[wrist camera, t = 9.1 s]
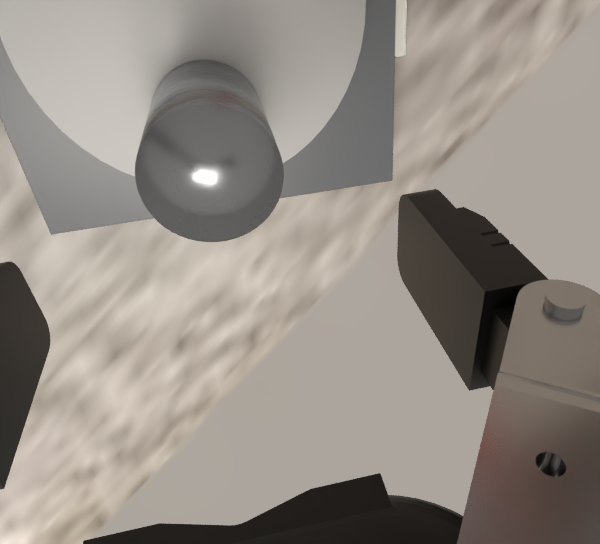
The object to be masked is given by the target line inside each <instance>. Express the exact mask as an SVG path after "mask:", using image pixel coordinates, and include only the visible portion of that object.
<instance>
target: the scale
mask: <svg viewBox="0 0 600 544" xmlns="http://www.w3.org/2000/svg"><path fill="white" fill-rule="evenodd" d="M406 17H407V0H0V118H1V120H2V123H3V125H4V127H5V130H6V132H7V134H8V137H9V139H10V141H11V143H12V146H13V148H14V150H15V153H16V155H17V157H18V160H19V162H20V164H21V166H22V169H23V171H24V173H25V176H26V178H27V180H28V182H29V185H30V187H31V189H32V192H33V194H34V196H35V199H36V201H37V203H38V205H39V208H40V210H41V212H42V215H43V217H44V219H45V222H46V224H47V226H48V228H49V231H50V233H51V234H58V233H64V232H70V231H77V230H83V229H89V228H95V227H102V226H108V225H114V224H121V223H127V222H133V221H140V220H146V219H152V218H154V217H153V216H152V215H151V214H150V213H149V211H148V210H147V208H146V207H145V205H144V203H143V202H142V200H141V198H140V195H139V192H138V190H137V185H136V180H135V162H136V157H137V153H138V149H139V146H140V142H141V138H142V135H143V131H144V127H145V124H146V120H147V116H148V113H149V109H150V105H151V101H152V98H153V95H154V92H155V90H156V88H157V86H158V84H159V83H160V81H161V80H162V79H163V77H164V76H165V75H166V74H167V73H168V72H170V71H171V70H172V69H174V68H175V67H177V66H179V65H181V64H184V63H186V62H189V61H194V60H214V61H218V62H222V63H225V64H227V65H229V66H231V67H233V68H235V69H236V70H238V71H239V72H241V73H242V74H243V75H244V76H245V77H246V78H247V79H248V80H249V81H250V83H251V84H252V85H253V87H254V88H255V90H256V92H257V94H258V96H259V99H260V101H261V104H262V107H263V109H264V112H265V115H266V117H267V120H268V123H269V125H270V128H271V131H272V133H273V136H274V138H275V141H276V144H277V146H278V149H279V152H280V155H281V158H282V162H283V168H284V181H283V188H282V192H281V195H280V198H285V197H291V196H297V195H304V194H310V193H316V192H323V191H329V190H335V189H341V188H348V187H354V186H360V185H367V184H373V183H379V182H386V181H392V172H393V122H394V73H395V57H399V56H405V49H406Z"/></svg>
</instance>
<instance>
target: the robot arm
mask: <svg viewBox="0 0 600 544" xmlns="http://www.w3.org/2000/svg"><path fill="white" fill-rule="evenodd" d="M397 254H398V255H397V258H398V266H399V271H400V275H401V277H402V280H403V282H404V284H405V285H406V287H407V289H408V291H409V292H410V294H411V296H412V297H413V299H414V300H415V302H416V304H417V306H418V307H419V309H420V310H421V312H422V314H423V315H424V317H425V319H426V320H427V322H428V324H429V325H430V327H431V329H432V330H433V332H434V333H435V335H436V337H437V338H438V340H439V341H440V343H441V345H442V347H443V348H444V350H445V352H446V353H447V355H448V356H449V358H450V360H451V361H452V363H453V364H454V366H455V368H456V369H457V371H458V373H459V375H460V376H461V378H462V380H463V381H464V383H465V385H466V386H467V388H468V389H469V390H473V389H478V388H483V387H488V386H491V388H492V389H493V390H494V391H493V395H492V399H491V404H490V408H489V412H488V416H487V420H486V424H485V429H484V433H483V437H482V442H481V445H480V450H479V454H478V458H477V462H476V466H475V470H474V474H473V479H472V483H471V487H470V491H469V495H468V500H467V504H466V508H465V512H464V516H462V515H460V514H458V513H456V512H454V511H452V510H450V509H447V508H445V507H442V506H440V505H437V504H435V503H431V502H428V501H424V500H420V499H416V498H410V497H404V496H394V495H388V494H387V491H386V489H385V485H384V483H383V480H382V477H381V474H375V475H371V476H366V477H362V478H357V479H353V480H349V481H344V482H340V483H335V484H331V485H327V486H322V487H318V488H313V489H310V490H308V491H306V492H304V493H302V494H300V495H298V496H296V497H294V498H292V499H290V500H288V501H286V502H284V503H282V504H280V505H278V506H277V507H274V508H272V509H271V510H268V511H267V512H265V513H263V514H260V515H259V516H257V517H255V518H253V519H251V520H249V521H247V522H244V523H242V524H239V525H234V526H233V525H232V526H223V525H192V524H155V525H152V526H147V527H142V528H138V529H134V530H129V531H125V532H120V533H116V534H112V535H107V536H103V537H98V538H94V539H90V540H85V541H84V542H83V544H600V295H599V294H598V293H597V292H595V291H593V290H591V289H590V288H587V287H585V286H583V285H580V284H577V283H573V282H569V281H563V280H549V279H547V278H546V277H545V276H544V275H543V274H542V273H541V272H540V271H539V270H538V269H537V268H536V267H535V266H534V265H533V264H532V263H531V262H530V261H529V260H528V259H527V258H526V257H525V256H524V255H523V254H522V253H521V252H520V251H519V250H518V249H517V248H516V247H515V246H514V245H513V244H510V243H509V240H508V239H507V238H505V237H504V235H502V234H501V233H498V230H497V229H496V228H495V227H494V226H493V225H492V224H491V223H490V222H489V221H488V220H487V219H486V218H485V217H483V216H481V215H479V214H477V213H475V212H473V211H471V210H469V209H466V208H464V207H463V208H457V209H456V208H455V207H454V206H453V205H452V204H451V203H450V202H449V200H448V199H447V198H446V197H445V196H444V195H442V193H441V192H440V191H439V190H436V189H434V190H428V191H422V192H417V193H411V194H405V195H402V196H401V198H400V201H399V217H398V252H397ZM49 347H50V333H49V328H48V324H47V321H46V319H45V317H44V315H43V313H42V311H41V309H40V307H39V305H38V304H37V302H36V300H35V298H34V296H33V294H32V292H31V290H30V288H29V286H28V284H27V282H26V280H25V278H24V276H23V274H22V273H21V271H20V269H19V268H18V266H17V265H16V264H14V263H12V262H4V263H0V489H4V487H5V484H6V481H7V478H8V475H9V472H10V469H11V465H12V462H13V459H14V456H15V453H16V450H17V447H18V444H19V441H20V438H21V435H22V432H23V428H24V425H25V422H26V419H27V416H28V413H29V410H30V407H31V404H32V401H33V398H34V395H35V391H36V388H37V385H38V382H39V379H40V376H41V373H42V370H43V367H44V364H45V361H46V358H47V354H48V351H49Z"/></svg>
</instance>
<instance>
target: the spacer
mask: <svg viewBox="0 0 600 544" xmlns="http://www.w3.org/2000/svg"><path fill="white" fill-rule="evenodd" d="M135 180H136V185H137V190H138V192H139V195H140V198H141V200H142V202H143V203H144V205H145V207H146V208H147V210H148V211H149V213H150V214H151V215H152V216H153V217H154V218H155V219H156V220H157V221H158V222H159V223H160V224H161V225H163V226H164V227H165V228H167V229H168V230H170V231H172V232H173V233H176V234H178V235H180V236H182V237H185V238H188V239H192V240H196V241H203V242H219V241H226V240H231V239H235V238H237V237H240V236H243V235H245V234H247V233H249V232H251V231H252V230H254V229H255V228H257V227H258V226H259V225H260V224H262V223H263V222H264V221H265V220H266V219H267V218H268V216H269V215H270V214H271V213H272V211H273V210H274V208H275V206H276V204H277V203H278V201H279V198H280V195H281V192H282V188H283V181H284V168H283V162H282V158H281V155H280V152H279V149H278V146H277V144H276V141H275V138H274V136H273V133H272V131H271V128H270V125H269V123H268V120H267V117H266V115H265V112H264V109H263V107H262V104H261V101H260V99H259V96H258V94H257V92H256V90H255V88H254V87H253V85H252V84H251V83H250V81H249V80H248V79H247V78H246V77H245V76H244V75H243V74H242V73H241V72H239V71H238V70H236V69H235V68H233V67H231V66H229V65H227V64H225V63H222V62H218V61H214V60H194V61H189V62H186V63H184V64H181V65H179V66H177V67H175V68H174V69H172V70H171V71H170V72H168V73H167V74H166V75H165V76H164V77H163V79H162V80H161V81H160V83H159V84H158V86H157V88H156V90H155V92H154V95H153V98H152V101H151V105H150V109H149V113H148V116H147V120H146V124H145V127H144V131H143V135H142V138H141V142H140V146H139V149H138V153H137V157H136V162H135Z"/></svg>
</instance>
